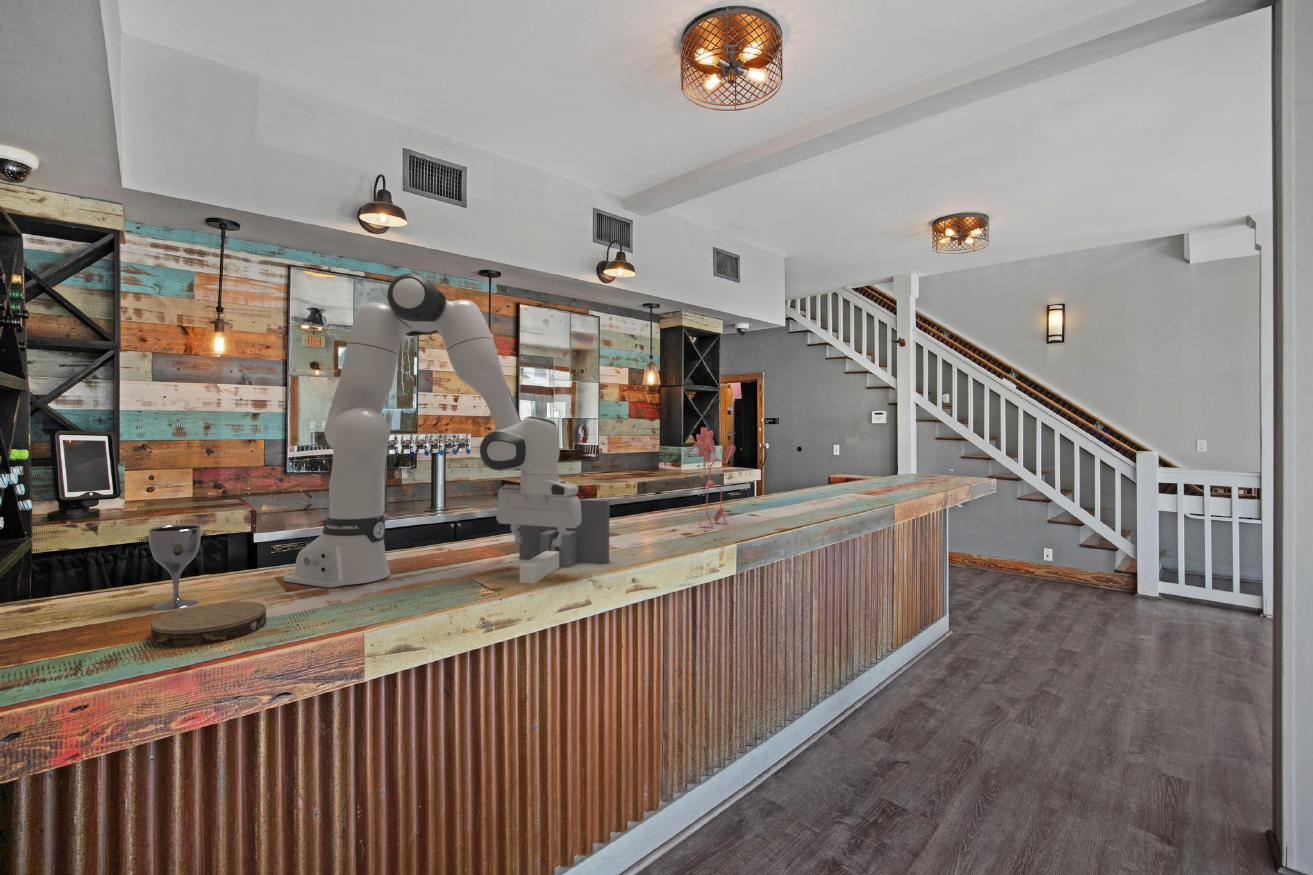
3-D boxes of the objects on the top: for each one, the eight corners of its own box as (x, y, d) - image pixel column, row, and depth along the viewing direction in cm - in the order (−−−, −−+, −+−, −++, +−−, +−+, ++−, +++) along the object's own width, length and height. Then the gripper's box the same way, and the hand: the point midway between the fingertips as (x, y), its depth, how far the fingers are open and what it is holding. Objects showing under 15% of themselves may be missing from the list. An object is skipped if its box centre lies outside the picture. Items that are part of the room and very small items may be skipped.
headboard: (509, 563, 157) (509, 501, 156) (522, 557, 165) (522, 497, 164) (600, 568, 152) (600, 504, 152) (609, 561, 160) (609, 500, 160)
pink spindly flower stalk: (741, 522, 226) (740, 426, 225) (702, 531, 205) (700, 427, 205) (706, 519, 235) (705, 427, 235) (665, 527, 215) (664, 427, 215)
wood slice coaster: (124, 648, 97) (124, 630, 97) (199, 617, 113) (199, 601, 113) (225, 649, 97) (224, 630, 97) (285, 617, 113) (285, 601, 113)
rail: (519, 582, 138) (519, 556, 138) (554, 561, 160) (554, 538, 160) (534, 583, 137) (534, 557, 137) (567, 562, 159) (567, 539, 159)
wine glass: (159, 613, 115) (159, 532, 114) (142, 606, 119) (141, 528, 118) (208, 602, 121) (208, 526, 121) (190, 596, 126) (190, 523, 125)
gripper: (492, 484, 144) (490, 544, 144) (575, 489, 139) (573, 550, 139) (504, 483, 150) (503, 539, 150) (584, 486, 145) (583, 545, 145)
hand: (537, 544), depth 145 cm, fingers open, 8 cm apart
